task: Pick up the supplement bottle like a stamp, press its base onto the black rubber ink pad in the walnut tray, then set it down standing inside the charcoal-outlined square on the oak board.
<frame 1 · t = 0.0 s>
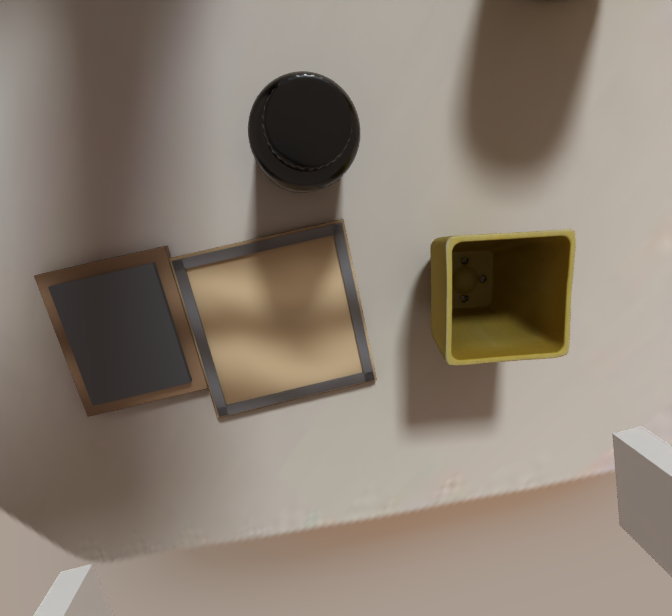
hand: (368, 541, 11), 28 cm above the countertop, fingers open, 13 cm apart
ink pad: (123, 335, 36), on the ink tray, point 1 cm above the countertop
flower pot: (461, 277, 40), on the countertop
ink tray: (128, 331, 38), on the countertop
supplement bottle: (301, 148, 36), on the countertop
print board: (278, 320, 39), on the countertop
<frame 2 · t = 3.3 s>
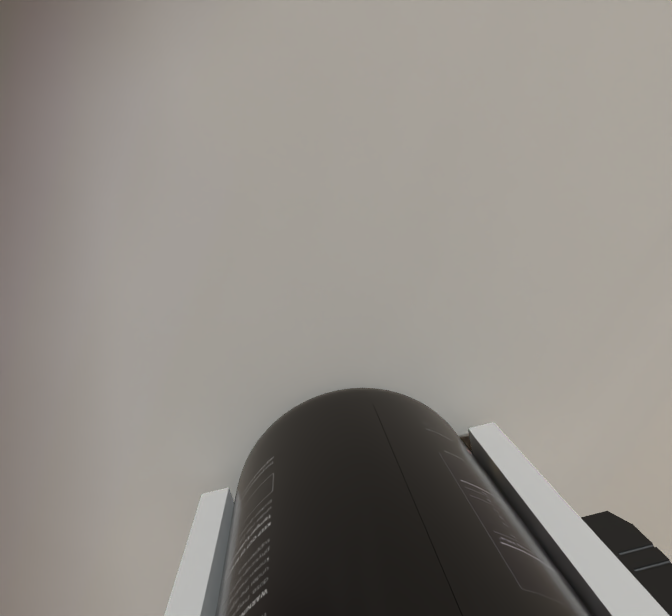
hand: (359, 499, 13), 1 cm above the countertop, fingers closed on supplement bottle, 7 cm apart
supplement bottle: (356, 483, 14), on the countertop, touching gripper
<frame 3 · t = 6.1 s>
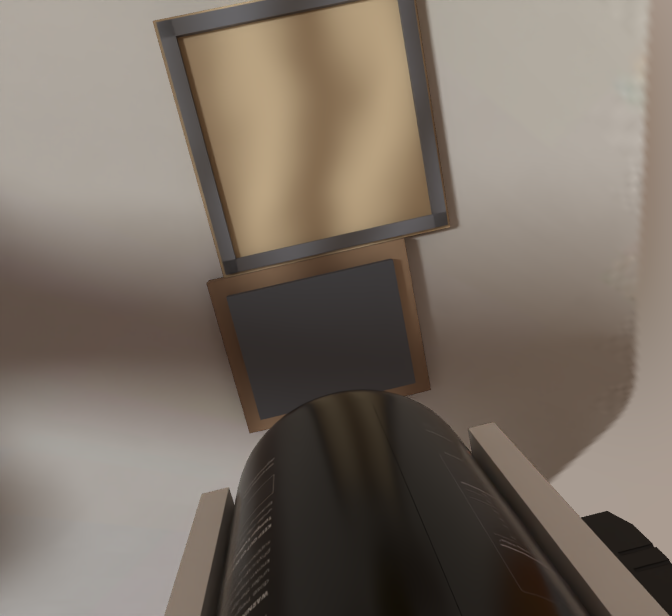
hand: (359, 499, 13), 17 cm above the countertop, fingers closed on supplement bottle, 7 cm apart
ink pad: (324, 340, 28), on the ink tray, point 1 cm above the countertop
ink tray: (323, 334, 30), on the countertop
supplement bottle: (356, 484, 14), point 16 cm above the countertop, touching gripper
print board: (312, 133, 27), on the countertop
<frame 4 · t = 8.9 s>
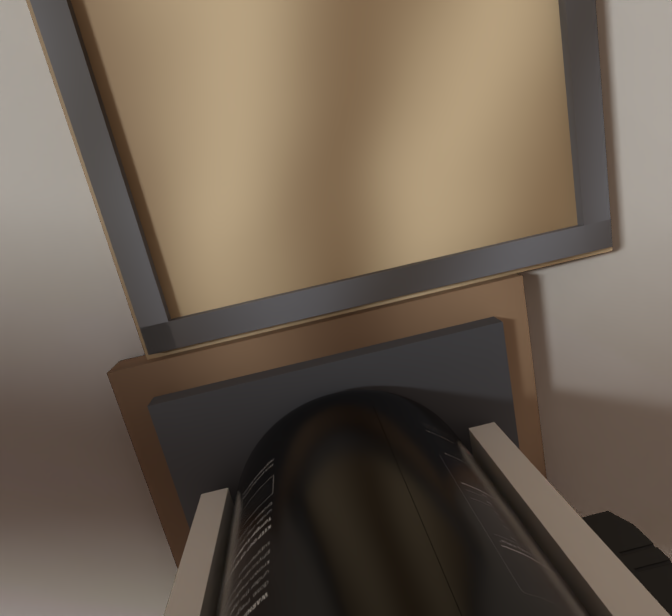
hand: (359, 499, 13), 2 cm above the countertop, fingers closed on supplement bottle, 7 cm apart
ink pad: (355, 481, 14), on the ink tray, point 1 cm above the countertop
ink tray: (350, 458, 15), on the countertop
supplement bottle: (356, 485, 14), point 1 cm above the countertop, touching gripper, ink pad
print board: (331, 51, 12), on the countertop
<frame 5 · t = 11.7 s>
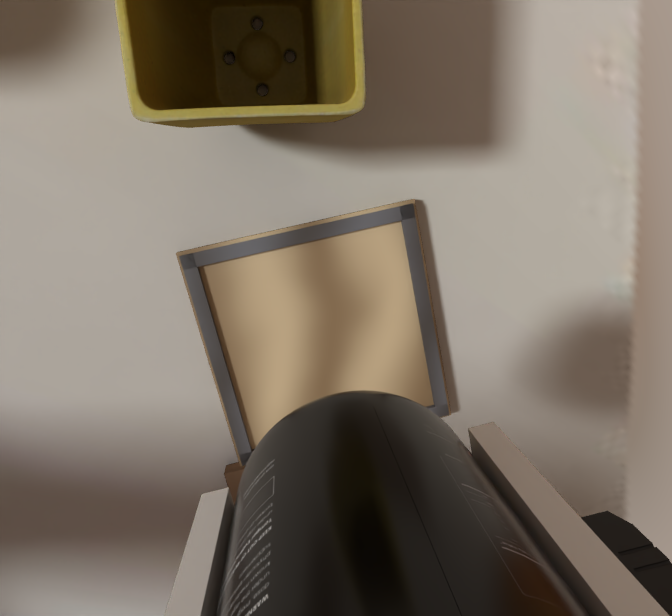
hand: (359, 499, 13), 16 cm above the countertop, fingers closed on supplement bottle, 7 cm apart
flower pot: (257, 61, 25), on the countertop
ink tray: (332, 507, 32), on the countertop
supplement bottle: (356, 485, 14), point 15 cm above the countertop, touching gripper
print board: (322, 336, 29), on the countertop
when the fingers open (2 cm above the countertop, at t = 14.4 s): supplement bottle drops 1 cm, resting on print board.
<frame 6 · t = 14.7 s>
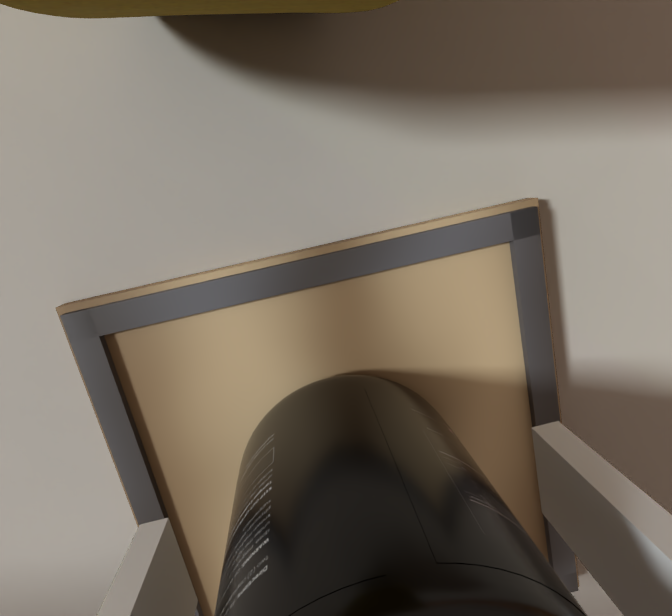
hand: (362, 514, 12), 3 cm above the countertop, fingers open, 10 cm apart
supplement bottle: (349, 464, 15), resting on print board
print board: (349, 455, 15), on the countertop
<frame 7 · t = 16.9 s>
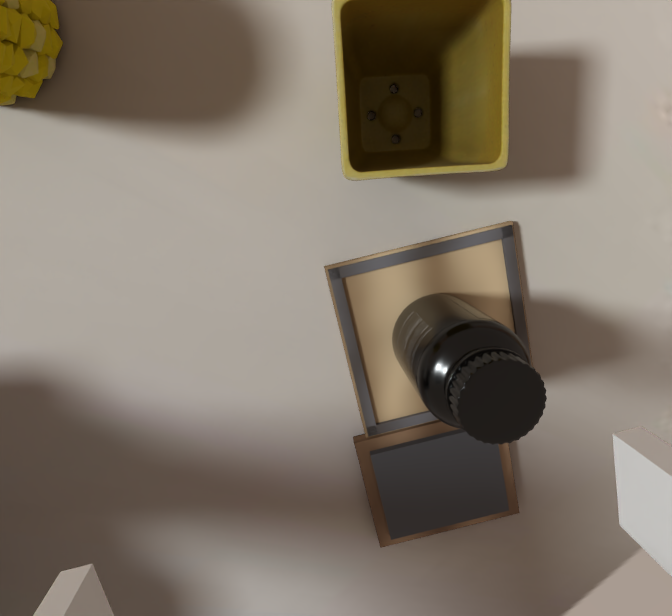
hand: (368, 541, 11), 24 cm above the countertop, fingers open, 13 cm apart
ink pad: (440, 481, 37), on the ink tray, point 1 cm above the countertop
flower pot: (391, 116, 32), on the countertop
ink tray: (436, 472, 39), on the countertop
supplement bottle: (434, 334, 35), resting on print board
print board: (433, 332, 36), on the countertop
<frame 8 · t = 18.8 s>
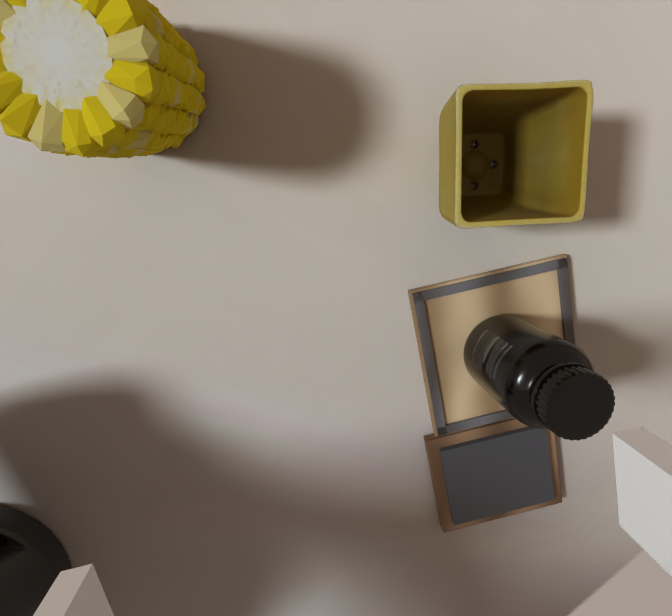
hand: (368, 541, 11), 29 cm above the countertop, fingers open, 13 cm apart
ink pad: (498, 474, 43), on the ink tray, point 1 cm above the countertop
flower pot: (470, 166, 38), on the countertop
ink tray: (492, 466, 45), on the countertop
supplement bottle: (497, 348, 41), resting on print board
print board: (496, 346, 42), on the countertop
food: (145, 99, 35), on the countertop
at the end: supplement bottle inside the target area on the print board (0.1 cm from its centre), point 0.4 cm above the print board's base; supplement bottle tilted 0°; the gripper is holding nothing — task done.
